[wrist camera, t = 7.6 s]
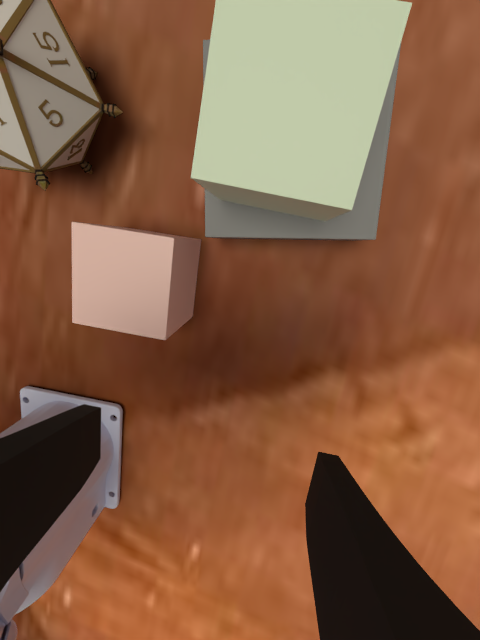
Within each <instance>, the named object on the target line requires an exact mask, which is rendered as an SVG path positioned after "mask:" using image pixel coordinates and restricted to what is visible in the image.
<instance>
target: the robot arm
mask: <svg viewBox="0 0 480 640" xmlns="http://www.w3.org/2000/svg"><path fill="white" fill-rule="evenodd" d="M27 398H28V399H29V400H28V399H27ZM20 401H21V415H22V419H21V420H19V421H18V422H16V423H15V424H13V425H12V426H10V427H9V428H7V429H6V430H5V431H3V432H2V433H0V640H16V639H17V626H16V623H15V622H14V621H13V620H12V618H13V616H14V615H15V614H17V613H19V612H21V611H22V610H24V609H25V608H27V607H28V606H30V605H31V604H32V603H34V602H35V601H36V600H37V599H39V598H40V597H41V596H42V595H43V594H44V593H45V592H46V591H47V590H48V589H49V588H50V587H51V586H52V584H53V583H54V582H55V581H56V579H57V578H58V576H59V575H60V573H61V572H62V570H63V569H64V567H65V566H66V564H67V563H68V561H69V560H70V558H71V557H72V555H73V554H74V552H75V551H76V549H77V548H78V546H79V545H80V543H81V542H82V540H83V539H84V537H85V536H86V534H87V533H88V531H89V529H90V528H91V526H92V525H93V523H94V522H95V520H96V519H97V517H98V516H99V514H100V513H101V511H102V510H103V508H104V507H107V508H111V509H114V508H116V507H117V506H118V504H119V501H120V473H121V445H122V417H123V410H122V407H121V406H120V405H118V404H115V403H110V402H105V401H100V400H95V399H90V398H85V397H80V396H75V395H70V394H65V393H60V392H56V391H51V390H46V389H41V388H36V387H31V386H26V387H24V388H22V389H21V390H20ZM113 415H115V416H116V417H117V418H115V417H114V416H113ZM305 507H306V538H307V548H308V555H309V563H310V570H311V577H312V585H313V592H314V599H315V606H316V614H317V621H318V628H319V635H320V640H480V631H479V630H478V629H477V628H476V627H475V626H474V625H473V624H472V623H471V621H470V620H469V619H468V618H467V617H466V616H465V615H464V614H463V613H462V612H461V611H460V610H459V609H458V608H457V607H456V606H455V604H454V603H453V602H452V601H451V600H450V599H449V598H448V597H447V595H446V594H445V593H444V592H443V591H442V590H441V589H440V588H439V587H438V585H437V584H436V583H435V582H434V581H433V580H432V579H431V578H430V577H429V575H428V574H427V573H426V572H425V571H424V570H423V568H422V567H421V566H420V565H419V564H418V563H417V561H416V560H415V559H414V558H413V557H412V555H411V554H410V553H409V552H408V550H407V549H406V548H405V547H404V545H403V544H402V543H401V542H400V540H399V539H398V538H397V537H396V536H395V534H394V533H393V532H392V530H391V529H390V528H389V526H388V525H387V524H386V523H385V521H384V520H383V519H382V517H381V516H380V515H379V513H378V512H377V511H376V509H375V508H374V506H373V505H372V504H371V502H370V501H369V500H368V498H367V497H366V495H365V494H364V492H363V491H362V490H361V488H360V487H359V485H358V484H357V482H356V481H355V479H354V478H353V477H352V475H351V474H350V472H349V471H348V469H347V468H346V466H345V465H344V463H343V462H342V461H341V459H340V458H339V456H337V455H332V454H327V453H322V452H318V455H317V459H316V463H315V467H314V471H313V475H312V479H311V483H310V487H309V491H308V495H307V499H306V503H305Z"/></svg>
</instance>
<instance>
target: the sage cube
mask: <svg viewBox="0 0 480 640" xmlns="http://www.w3.org/2000/svg"><path fill="white" fill-rule="evenodd" d="M411 5H412V3H410V2H403V1H397V0H216V4H215V11H214V18H213V25H212V32H211V39H210V46H209V53H208V60H207V67H206V74H205V81H204V88H203V95H202V102H201V109H200V116H199V123H198V130H197V137H196V145H195V152H194V159H193V166H192V173H191V178H192V179H193V180H194V181H196V182H197V183H198V184H200V185H201V186H202V187H204V188H205V189H206V190H208V191H209V192H210V193H212V194H213V195H214V196H216V197H217V198H218V199H220V200H223V201H228V202H232V203H237V204H242V205H247V206H252V207H257V208H262V209H267V210H272V211H276V212H281V213H286V214H291V215H296V216H301V217H306V218H311V219H316V220H320V221H327V220H330V219H332V218H334V217H337V216H339V215H342V214H344V213H346V212H349V211H351V210H352V208H353V205H354V201H355V198H356V194H357V191H358V188H359V184H360V181H361V177H362V174H363V170H364V167H365V163H366V160H367V157H368V153H369V150H370V146H371V143H372V139H373V136H374V133H375V129H376V126H377V122H378V119H379V115H380V112H381V108H382V105H383V102H384V98H385V95H386V91H387V88H388V84H389V81H390V77H391V74H392V71H393V67H394V64H395V60H396V57H397V53H398V50H399V47H400V43H401V40H402V36H403V33H404V29H405V26H406V22H407V19H408V16H409V12H410V9H411Z"/></svg>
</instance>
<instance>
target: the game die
mask: <svg viewBox="0 0 480 640" xmlns="http://www.w3.org/2000/svg"><path fill="white" fill-rule="evenodd" d="M96 75H97V72H95V71H94V70H93V69H91V68H90V67H89V68H88V69H87V68H85V66H84V64H83V62H82V60H81V58H80V56H79V54H78V53H77V51H76V49H75V47H74V45H73V43H72V41H71V39H70V37H69V35H68V33H67V31H66V29H65V27H64V25H63V23H62V21H61V19H60V17H59V15H58V14H57V12H56V10H55V8H54V6H53V4H52V2H51V0H0V169H8V170H15V171H22V172H30V173H35V174H36V175H35V180H36V181H37V182H36V185H39V186H40V187H41V188H42V189H44V190H45V191H46V189H47V187H48V185H49V184H50V182H49V181H48V177H47V176H46V175H45V174H44V173H46V172H50V171H53V170H57V169H61V168H64V167H68V166H72V165H76V164H80V165H81V168H82V169H84V171H85V173H86V172H88V173H91V174H93V172H92V165H89V162H86V161H84V157H85V155H86V152H87V150H88V148H89V145H90V143H91V141H92V138H93V136H94V134H95V131H96V129H97V127H98V124H99V122H100V120H101V117H102V115H103V113H107V114H108V115H109V116H110V117H111V116H114V118H116V116H118V115H120V114H122V113H123V112H122V111H121V110H120V109H119V108H118V107H117V106H116V104H112V105H111V104H110V103H107V104H104V103H103V101H102V99H101V97H100V95H99V93H98V92H97V90H96V88H95V86H94V84H93V82H92V80H95V79H96Z"/></svg>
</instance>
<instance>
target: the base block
mask: <svg viewBox="0 0 480 640" xmlns="http://www.w3.org/2000/svg"><path fill="white" fill-rule="evenodd" d="M209 46H210V40H203V78H204V81H205V74H206V67H207V60H208V53H209ZM400 47H401V43H400ZM400 47H399V50H398V53H397V57H396V60H395V64H394V67H393V71H392V74H391V77H390V81H389V84H388V88H387V91H386V95H385V98H384V102H383V105H382V108H381V112H380V115H379V119H378V122H377V126H376V129H375V133H374V136H373V139H372V143H371V146H370V150H369V153H368V157H367V160H366V163H365V167H364V170H363V174H362V177H361V181H360V184H359V188H358V191H357V194H356V198H355V201H354V205H353V208H352V210H351V211H349V212H346V213H344V214H342V215H339V216H337V217H334V218H332V219H330V220H327V221H320V220H316V219H311V218H306V217H301V216H296V215H291V214H286V213H281V212H276V211H272V210H267V209H262V208H257V207H252V206H247V205H242V204H237V203H232V202H228V201H223V200H220V199H218V198H217V197H216V196H214V195H213V194H212V193H210V192H209V191H208V190H206V189H205V237H212V238H231V239H293V240H375V239H376V232H377V225H378V217H379V209H380V201H381V194H382V186H383V178H384V170H385V163H386V155H387V147H388V139H389V132H390V124H391V116H392V109H393V101H394V93H395V85H396V78H397V70H398V62H399V54H400Z"/></svg>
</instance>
